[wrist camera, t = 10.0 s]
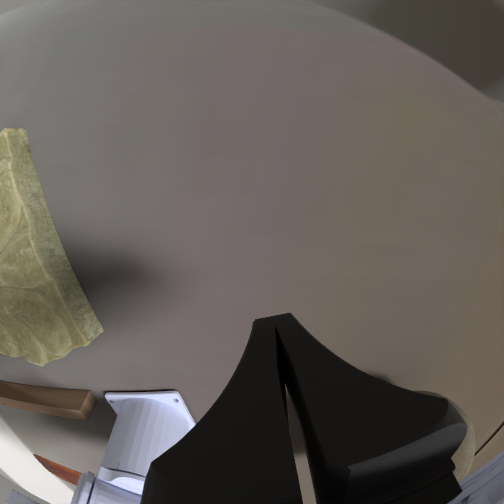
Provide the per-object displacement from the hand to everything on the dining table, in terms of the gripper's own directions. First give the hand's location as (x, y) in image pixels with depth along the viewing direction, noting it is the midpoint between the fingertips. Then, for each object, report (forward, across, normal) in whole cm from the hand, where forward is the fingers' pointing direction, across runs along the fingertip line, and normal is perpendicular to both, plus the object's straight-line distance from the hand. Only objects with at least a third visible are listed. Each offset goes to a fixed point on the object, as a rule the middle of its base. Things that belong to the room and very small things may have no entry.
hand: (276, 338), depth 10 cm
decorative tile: (+10, +24, -3) cm, 26 cm away
